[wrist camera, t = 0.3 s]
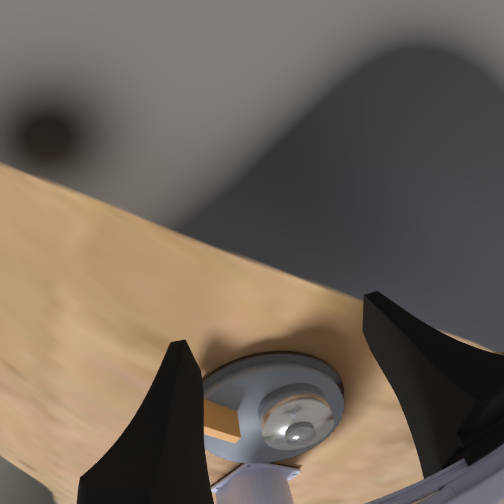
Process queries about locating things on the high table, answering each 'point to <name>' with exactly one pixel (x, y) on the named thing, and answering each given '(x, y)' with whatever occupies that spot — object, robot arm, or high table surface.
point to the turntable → (246, 410)
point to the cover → (295, 416)
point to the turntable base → (270, 358)
